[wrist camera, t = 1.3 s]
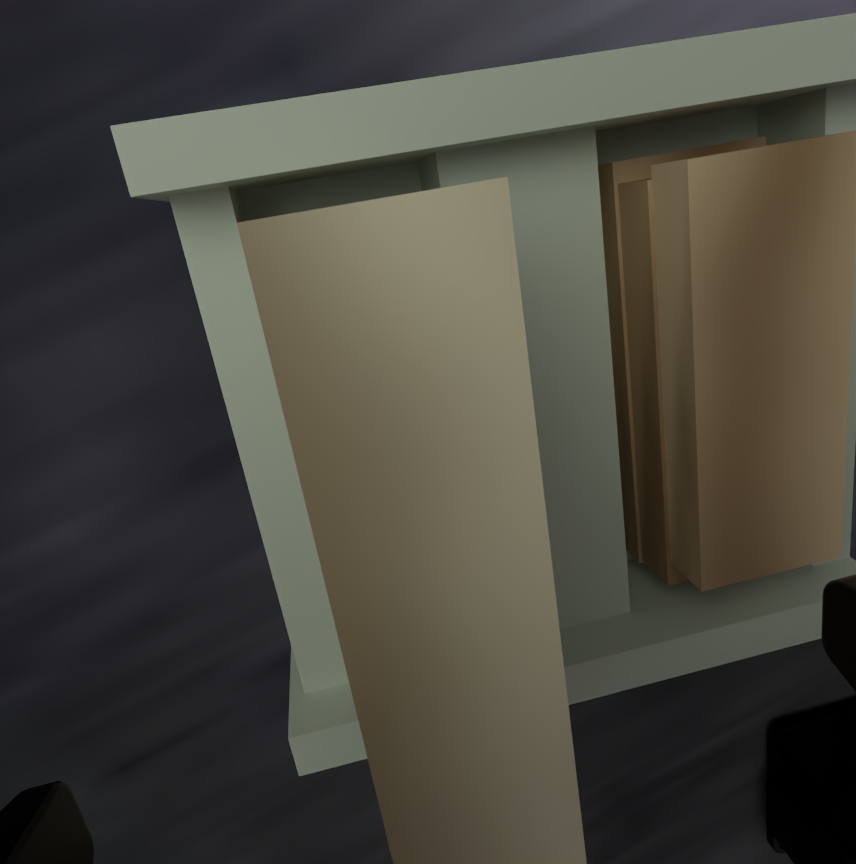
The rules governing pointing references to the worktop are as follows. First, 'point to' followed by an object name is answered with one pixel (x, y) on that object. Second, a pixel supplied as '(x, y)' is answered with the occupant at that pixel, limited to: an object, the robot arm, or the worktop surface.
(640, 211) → the offcut stack
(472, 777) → the tan wooden block
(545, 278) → the rack
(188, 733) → the worktop surface
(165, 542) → the worktop surface
